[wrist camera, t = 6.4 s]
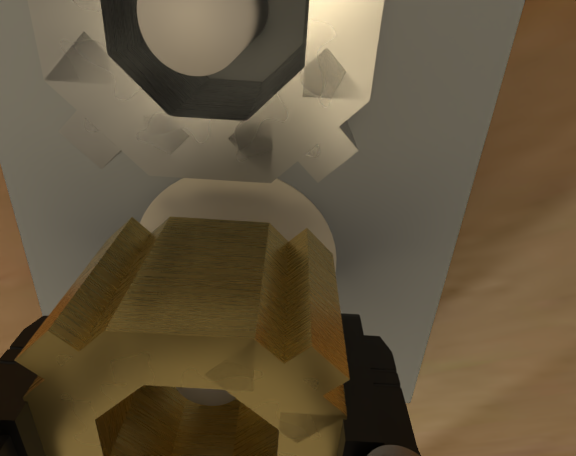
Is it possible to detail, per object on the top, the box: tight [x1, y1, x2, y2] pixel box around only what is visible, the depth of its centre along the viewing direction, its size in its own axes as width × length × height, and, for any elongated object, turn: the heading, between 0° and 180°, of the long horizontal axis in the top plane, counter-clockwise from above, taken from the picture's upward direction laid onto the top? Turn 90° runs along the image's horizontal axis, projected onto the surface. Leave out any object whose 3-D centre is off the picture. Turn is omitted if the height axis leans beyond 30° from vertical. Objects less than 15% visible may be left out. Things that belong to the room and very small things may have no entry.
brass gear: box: [15, 216, 350, 456], centre depth 10 cm, size 6×6×4 cm
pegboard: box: [0, 0, 525, 406], centre depth 11 cm, size 14×20×6 cm
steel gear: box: [27, 0, 384, 183], centre depth 9 cm, size 6×6×4 cm
